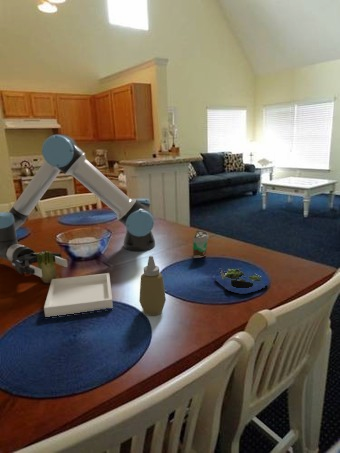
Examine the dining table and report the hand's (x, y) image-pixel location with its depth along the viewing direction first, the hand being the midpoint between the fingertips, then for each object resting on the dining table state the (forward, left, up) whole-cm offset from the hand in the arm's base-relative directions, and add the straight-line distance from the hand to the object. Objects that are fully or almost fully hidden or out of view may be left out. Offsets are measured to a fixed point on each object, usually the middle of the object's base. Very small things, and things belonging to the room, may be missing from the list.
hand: (54, 268), depth 116 cm
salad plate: (-65, +16, -7) cm, 67 cm away
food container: (-60, -13, -7) cm, 62 cm away
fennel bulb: (+3, -3, -7) cm, 8 cm away
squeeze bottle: (-31, +27, -7) cm, 42 cm away
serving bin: (-9, +13, -7) cm, 17 cm away
